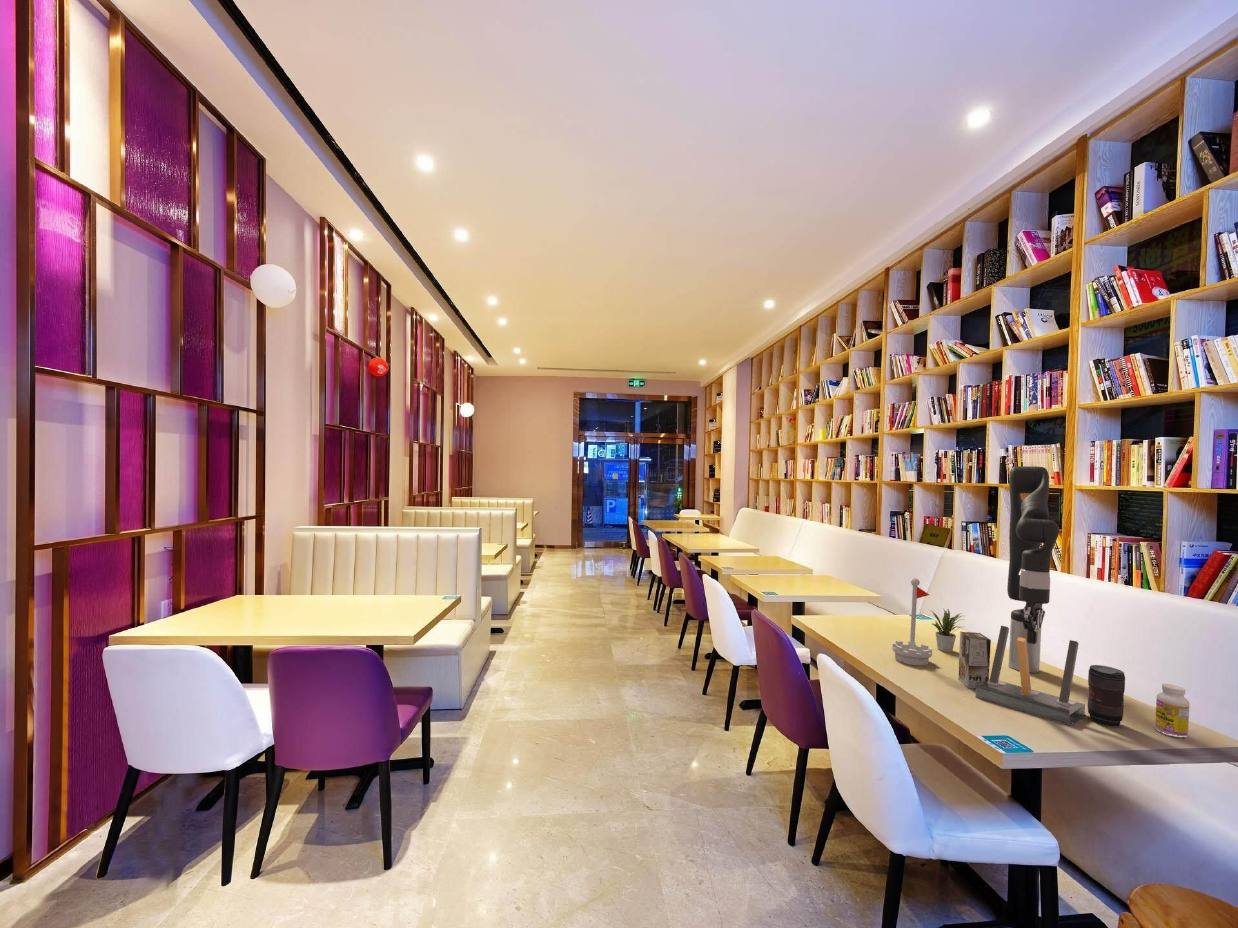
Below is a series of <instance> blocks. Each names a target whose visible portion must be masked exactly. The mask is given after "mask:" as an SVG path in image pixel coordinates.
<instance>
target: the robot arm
mask: <svg viewBox="0 0 1238 928" xmlns="http://www.w3.org/2000/svg"><path fill="white" fill-rule="evenodd" d="M1008 479H1009V480H1008V482H1009V499H1010V500H1009V503H1010V504H1009V505H1010V508H1009V509H1010V513H1009V514H1010V515H1009V529H1008V531H1009V533H1008V536H1009V537H1008V540H1009V541H1008V543H1009V563H1008V565H1009V566H1008V576H1007V588H1006V589H1007V595H1008V597H1009V599H1010V600H1014V601H1016V602H1017V601H1019V602H1025V606H1024V607H1023V608H1019V609H1013V610H1011V612H1010V628H1009V646H1008V650H1009V651H1008V667H1009V668H1011V669H1012V670H1016V671H1020V667H1019V657H1018V648H1017V639H1018V638H1019V637H1021V638H1025V639H1026V644H1027V654H1028V664H1029V673H1032V674H1033V673H1040V663H1041V647H1042V646H1041V641H1042V624H1043V623H1044V622H1043V621H1044V618H1045V614H1046V610H1044V608H1043V605H1046V604H1049V603H1050V595H1051V592H1050V591H1051V573H1050V570H1051V557H1052V553H1053V549H1054V546H1055V544H1056V542H1057V540H1058V538H1059V535H1060V527H1059V525H1058V524H1057V522H1056V521H1054V520H1052V519H1050V513H1049V507H1048V503H1049V502H1048V501H1049V494H1050V493H1049V492H1050V475H1049V471H1048V469H1047V468H1046V467H1045V466H1044V467H1043V466H1037V465H1036V466H1031V465H1030V466H1029V465H1028V466H1021V465H1019V466H1016V465H1015V466H1013V467H1011V468H1010V471H1009V476H1008ZM1021 494H1029V495H1027V496H1026V497H1025V498H1024V499H1023V498H1022V496H1021ZM1041 544H1042V545H1041Z"/></svg>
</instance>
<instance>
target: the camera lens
mask: <svg viewBox="0 0 1238 928" xmlns="http://www.w3.org/2000/svg"><path fill="white" fill-rule="evenodd" d="M1087 685H1088V694H1087V696H1088V697H1087V713H1088V715H1089V720H1091V722H1093V723H1096V724H1097V725H1102V726H1105V727H1106V726H1107V727H1110V728H1119V727H1121V722H1122V721H1123V717H1124V707H1125V705H1124V699H1125V698H1124V697H1125V694H1124V693H1125V691H1126V690H1125V689H1126V688H1125V687H1126V676H1125V672H1124V671H1123V670H1121V669H1118V668H1116V667H1112V666H1108V665H1101V664H1100V665H1099V664H1092V665H1090V666H1089V669H1088V678H1087Z"/></svg>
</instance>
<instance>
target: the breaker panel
mask: <svg viewBox="0 0 1238 928" xmlns="http://www.w3.org/2000/svg"><path fill="white" fill-rule="evenodd" d="M998 683H999V687H998V688H997V687H993V686H990V685H988V684H987V682H986V683H984V684H982V685H978V687H976V689H975V698H976V699H977V698H978V699H981V700H984V701H987V702H990V703H994V704H997V705H1000V706H1004V707H1008V708H1010V709H1014V710H1016V711H1017V710H1018V711H1021V712H1024V713H1028V714H1030V715H1034V716H1038V717H1041V718H1044V719H1048V720H1050V721H1054V722H1058V723H1061V724H1064V725H1067V726H1071V725H1072V724H1074V723H1075V722H1077V721H1078V720H1079V719H1081V718H1082V717H1083V716H1085V714H1086V704H1085V703H1083V702H1078V701H1075V700H1071V699H1069V702H1068V703H1070V707H1069V708H1068V707H1064V706H1061V705H1057V700H1059V697H1060V696H1056V695H1053V694H1050V693H1046V692H1042V691H1038V690H1035V689H1032V688H1031V692H1032V693H1033V697H1029V696H1025V695H1022V694H1021V690H1022V686H1020V685H1016V684H1013V683H1009V682H1007V681H1003V680H999V681H998Z"/></svg>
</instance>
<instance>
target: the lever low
mask: <svg viewBox="0 0 1238 928" xmlns="http://www.w3.org/2000/svg"><path fill="white" fill-rule="evenodd" d="M1009 634H1010V628H1009V627H1008V626H1006V625H1000V629H999V634H998V638H997V644H996V648H995V653H994V658H993V663H992V667H991V670H990V675H989V680H988V682H987V684H988V685H990V686H993V687H997V688H998V687H999V683H998V681H1000V676H1001V670H1002V665H1003V661H1004V655H1005V651H1006V646H1007V642H1008V637H1009Z"/></svg>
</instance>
